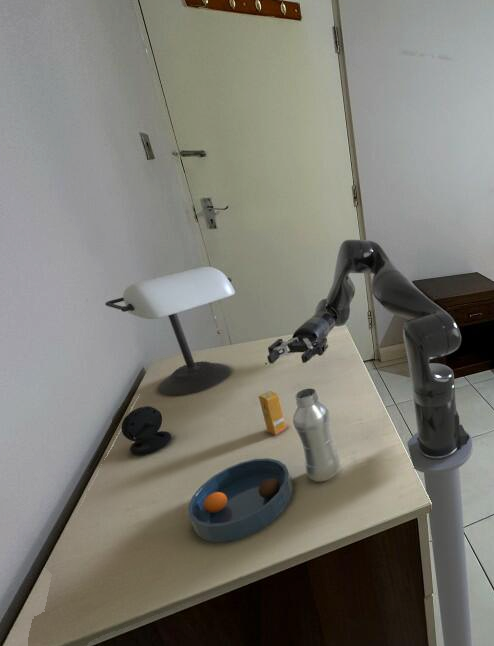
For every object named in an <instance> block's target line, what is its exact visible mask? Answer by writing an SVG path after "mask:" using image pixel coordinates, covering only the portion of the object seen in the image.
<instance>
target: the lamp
mask: <svg viewBox="0 0 494 646" xmlns="http://www.w3.org/2000/svg"><path fill="white" fill-rule="evenodd" d="M235 294H236V290H235V288H234V287H233V285H232V278H231V277H227V276H226V275H225V273H224V272H222V271H220V270H219V269H217V268H216V267H213V266H201V267H196V268H192V269H189V270H184V271H180V272H175V273H172V274H166V275H163V276H159V277H154V278H151V279H146V280H143V281H139V282H136V283H133V284H130V285H128V286H126V288H125V289H124V290H123V293H122V297H119V298H115V299H111V300H108V301H106V302H105V306H106V307H109V308H113V309H117V310H119V311H121V312H122V313H126V312H127V313H128V314H130V315H132V316H136V317H138V318H141V319H145V320H155V319H162V318H164V317H168V319H169V321H170V324H171V328H172V330H173V333H174V335H175V338H176V341H177V343H178V346H179V349H180V351H181V354H182V357H183V359H184V362H185V364H184V365H182V366H180V367H178V368H177V369H175V370H174V371H173V372H172V373H171V374H170V375H169V376H167V377H166V378H165V379H164V380H163V381H161V383H160V385H158V392H159V393H160V394H161V395H163V396H168V397H169V396H170V397H178V396H185V395H190V394H191V395H192V394H195V393H198V392H201V391H205V390H207V389H210V388H212V387H214V386H216V385H218V384H220V383H221V382H224V381H225V379H227V378H228V377H229V375H230V374H231V368H230V367H229V366H228V365H226V364H222V363H218V362H209V361H196V362H195V361H194V358H193V355H192V352H191V350H190V347H189V343H188V342H187V339H186V336H185V333H184V330H183V328H182V324H181V322H180V319H179V317H178V313H181V312H184V311H187V310H191V309H195V308H197V307H200V306H204V305H207V304H209V306H210V309H211V312H212V315H213V318H214V322H215V325H216V328H217V331H216V333H217V334H218V335H220V334H222V333H223V332H222V330H221V329H220V327H219V324H218V322H217V321H218V320H217V317H216V314H215V312H214V309H213V306H212V303H213V302H217V301H219V300H222V299H226V298H229V297H231V296H234V295H235ZM122 302H124V305H119V304H117V303H122Z"/></svg>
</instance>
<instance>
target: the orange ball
mask: <svg viewBox="0 0 494 646" xmlns="http://www.w3.org/2000/svg"><path fill="white" fill-rule="evenodd" d="M226 504H227V497H226V495H225V494H224V493H221V492H215V493H212V494H210V495H209V496H208V497H207V498H206V499H205V501H204V509H205V510H206V511H207V512H209V513H217V512H219V511H221V510H222V509H223V508H224V507H225V506H226Z"/></svg>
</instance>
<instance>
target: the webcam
mask: <svg viewBox="0 0 494 646" xmlns="http://www.w3.org/2000/svg"><path fill="white" fill-rule="evenodd" d="M162 424H163V414H162V413H161V411H160V410H159V409H158V408H156V407H154V406H151V405H149V406H148V405H145V406H139V407H137V408H135V409H133V410H132V411H130V412H129V413H128V414H127V415H126V416H125V417H124V419H123V420H122V423H121V426H120V427H121V429H120V430H121V434H122V435H123V437H124V438H125V439H127V440H129V441H132V442H133V443H132V444H131V446H130V448H129V450H130V453H131V454H132V455H135V456H146V455H149V454H153V453H155V452H157V451H159V450H161V449H163V448H164V447H166V446H167V445H168V444H170V442H171V440H172V434H171V433H170V432H169V431H166V430H160V428H161V426H162ZM142 445H147V446H148V447H145V448H140V447H141V446H142Z"/></svg>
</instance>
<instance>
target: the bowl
mask: <svg viewBox="0 0 494 646" xmlns="http://www.w3.org/2000/svg"><path fill="white" fill-rule="evenodd" d="M270 478H272V479H276V480H277V481H278V482H279V484H280V489H279V492H278V493H277V494H276V495H275V496H274V497H272V498H268V499H266V498H263V497H261V496H260V494H259V486H260V484H261V483H262V482H263V481H265V480H266V479H270ZM215 492H221V493H224V494H225V495H226V497H227V504H226V506H225V507H224V508H223V509H222V510H221V511H219V512H217V513H209V512H207V511H206V510H205V509H204V501H205V499H206V498H207V497H208V496H209V495H210V494H212V493H215ZM292 495H293V483H292V479H291V475H290V472H289V470H288V467H287V466H286V464H284V463H283V462H281V461H280V460H277V459H273V458H270V457H269V458H267V457H266V458H265V457H264V458H253V459H249V460H245V461H241V462H238V463H236V464H235V465H231V466H229V467H226V468H225V469H223V470H222V471H219V472H218V473H217V474H214V475H213V476H211V477H210V478H209V479H208V480H207V481H205V482H204V483H203V484H202V485H201V486H200V487H199V488H198V489H197V490H196V492H195V493H194V494H193V495H192V497H191V499H190V502H189V504H188V506H187V512H188V518H189V521H190V523H191V525H192V527H193V529H194V532H195V533H196V534H197V535H198V536H199V538H200V539H202V540H204V541H207V542H210V543H218V544H219V543H228V542H234V541H238V540H240V539H244V538H246V537H249V536H251V535H253V534H256V533H257V532H259V531H261V530H262V529H264V528H266V527H267V526H268V525H270V524H271V523H272V522H273V521H274V520H276V519H277V518H278V517H279V516H280V515H281V514H282V512H284V510H285V509H286V508H287V507H288V505H289V503H290V501H291V498H292Z"/></svg>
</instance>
